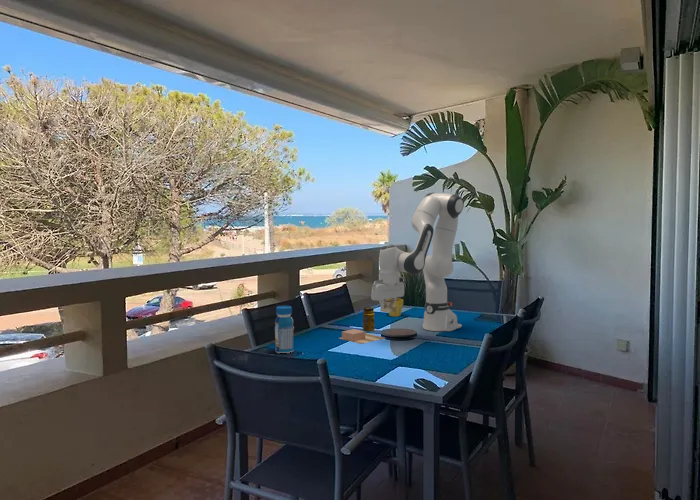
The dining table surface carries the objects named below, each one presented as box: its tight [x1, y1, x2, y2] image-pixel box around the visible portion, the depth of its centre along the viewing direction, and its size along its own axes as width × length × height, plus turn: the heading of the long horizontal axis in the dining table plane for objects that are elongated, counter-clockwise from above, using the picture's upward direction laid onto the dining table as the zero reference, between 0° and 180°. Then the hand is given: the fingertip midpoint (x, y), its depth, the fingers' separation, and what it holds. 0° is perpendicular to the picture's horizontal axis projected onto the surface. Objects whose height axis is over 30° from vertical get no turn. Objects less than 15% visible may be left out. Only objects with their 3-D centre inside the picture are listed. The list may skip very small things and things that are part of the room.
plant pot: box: [386, 298, 404, 317], centre depth 298 cm, size 10×10×10 cm
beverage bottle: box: [274, 305, 295, 354], centre depth 217 cm, size 8×8×20 cm
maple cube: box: [380, 299, 395, 314], centre depth 236 cm, size 5×5×5 cm
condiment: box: [362, 306, 378, 332], centre depth 257 cm, size 7×8×12 cm
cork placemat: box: [339, 332, 386, 345], centre depth 240 cm, size 17×16×1 cm
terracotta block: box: [341, 328, 366, 342], centre depth 238 cm, size 8×8×4 cm
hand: (387, 307), depth 236 cm, fingers closed on maple cube, 5 cm apart
